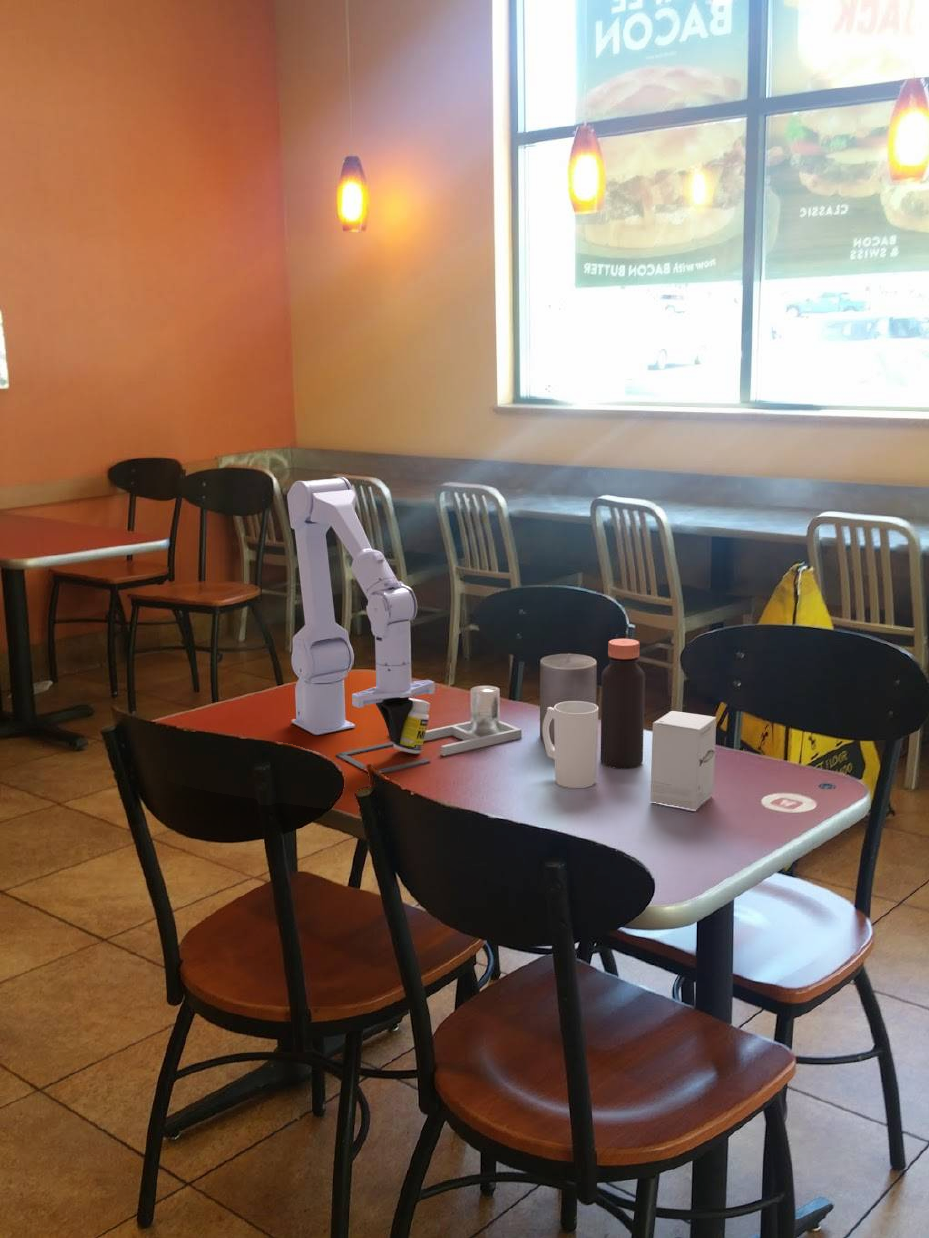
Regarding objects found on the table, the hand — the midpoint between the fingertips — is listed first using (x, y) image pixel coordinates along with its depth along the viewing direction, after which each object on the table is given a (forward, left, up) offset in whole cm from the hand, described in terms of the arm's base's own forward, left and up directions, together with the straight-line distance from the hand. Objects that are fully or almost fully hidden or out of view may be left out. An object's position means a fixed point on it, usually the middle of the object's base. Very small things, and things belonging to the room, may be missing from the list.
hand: (395, 741), depth 203 cm
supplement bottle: (0, +2, -2) cm, 3 cm away
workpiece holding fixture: (0, +14, -3) cm, 14 cm away
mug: (+25, +16, -3) cm, 30 cm away
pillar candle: (+9, +29, -3) cm, 31 cm away
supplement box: (+42, +24, -3) cm, 48 cm away
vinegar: (+24, +28, -3) cm, 37 cm away
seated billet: (0, +18, -3) cm, 18 cm away
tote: (0, -2, -3) cm, 3 cm away
